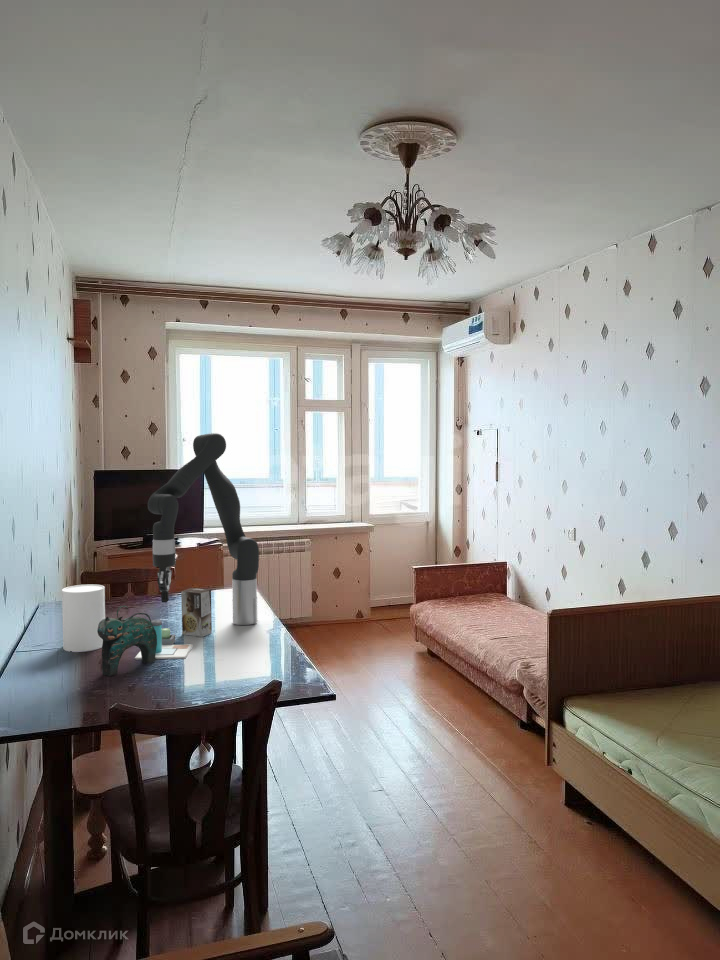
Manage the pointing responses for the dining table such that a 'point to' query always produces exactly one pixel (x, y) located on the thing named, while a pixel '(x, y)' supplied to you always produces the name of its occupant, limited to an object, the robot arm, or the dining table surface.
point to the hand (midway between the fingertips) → (165, 601)
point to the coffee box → (196, 612)
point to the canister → (82, 617)
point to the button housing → (169, 640)
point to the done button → (165, 633)
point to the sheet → (171, 652)
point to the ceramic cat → (126, 640)
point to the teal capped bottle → (158, 634)
